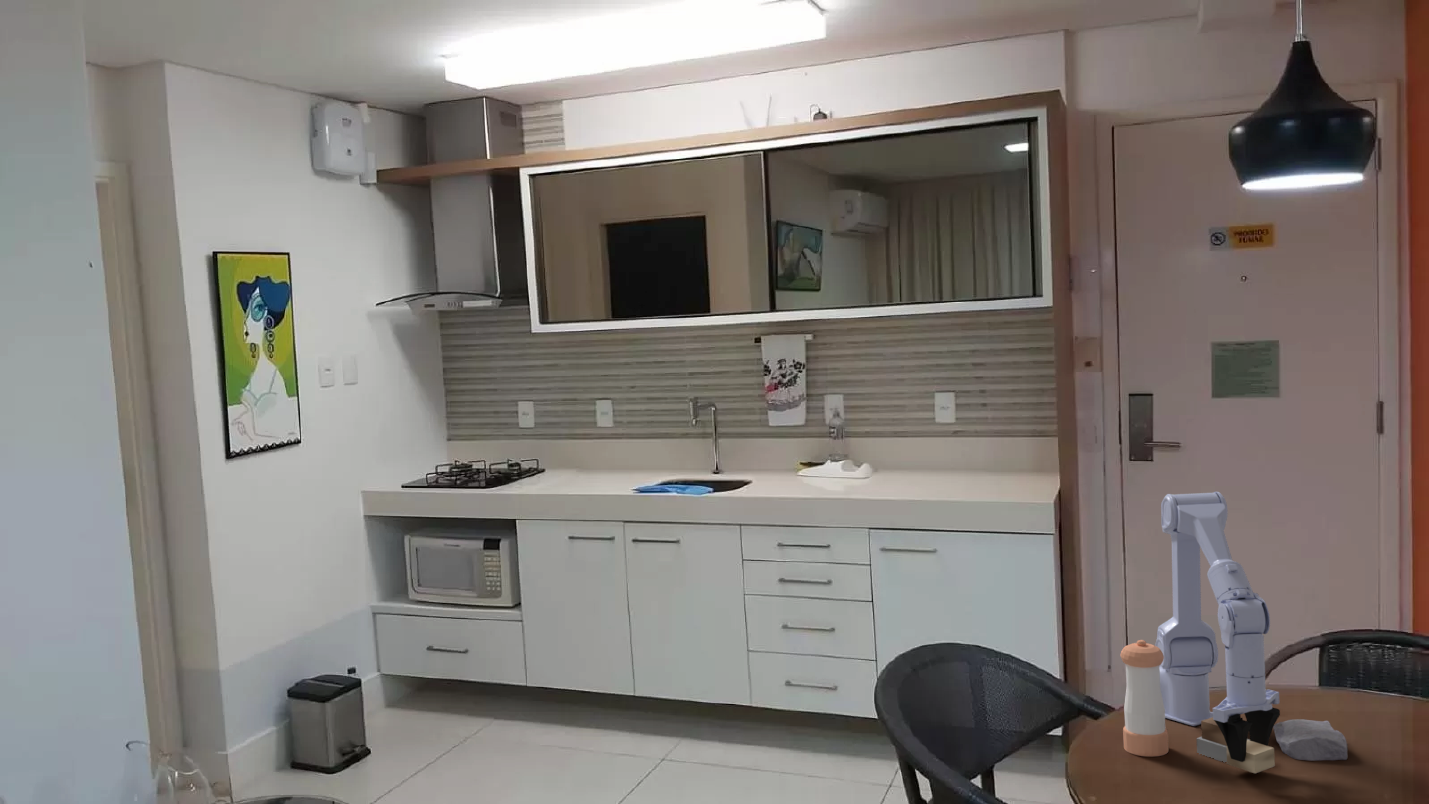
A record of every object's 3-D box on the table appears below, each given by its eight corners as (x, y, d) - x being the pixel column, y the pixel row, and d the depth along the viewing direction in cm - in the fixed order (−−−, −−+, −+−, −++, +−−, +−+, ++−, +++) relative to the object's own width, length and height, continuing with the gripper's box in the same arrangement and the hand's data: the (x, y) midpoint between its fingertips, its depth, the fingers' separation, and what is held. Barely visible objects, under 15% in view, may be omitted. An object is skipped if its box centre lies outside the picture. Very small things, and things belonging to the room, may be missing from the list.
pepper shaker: (1175, 747, 194) (1170, 638, 193) (1159, 759, 188) (1154, 648, 188) (1133, 739, 199) (1128, 633, 198) (1117, 751, 193) (1112, 642, 192)
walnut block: (1201, 738, 190) (1201, 720, 190) (1221, 732, 192) (1220, 714, 192) (1227, 746, 186) (1226, 728, 185) (1247, 739, 188) (1246, 722, 188)
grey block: (1197, 755, 190) (1196, 738, 190) (1219, 747, 193) (1218, 730, 193) (1228, 765, 185) (1227, 748, 185) (1251, 757, 188) (1250, 740, 188)
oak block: (1227, 764, 181) (1226, 746, 181) (1246, 757, 183) (1245, 739, 183) (1255, 773, 176) (1254, 755, 176) (1274, 766, 179) (1274, 747, 179)
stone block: (1291, 772, 185) (1355, 761, 183) (1284, 743, 185) (1347, 732, 183) (1270, 749, 197) (1330, 738, 195) (1263, 722, 197) (1322, 711, 195)
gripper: (1240, 687, 172) (1243, 773, 173) (1295, 669, 180) (1298, 752, 180) (1199, 677, 178) (1203, 760, 179) (1255, 660, 186) (1258, 740, 186)
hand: (1248, 755), depth 180 cm, fingers closed on oak block, 5 cm apart
